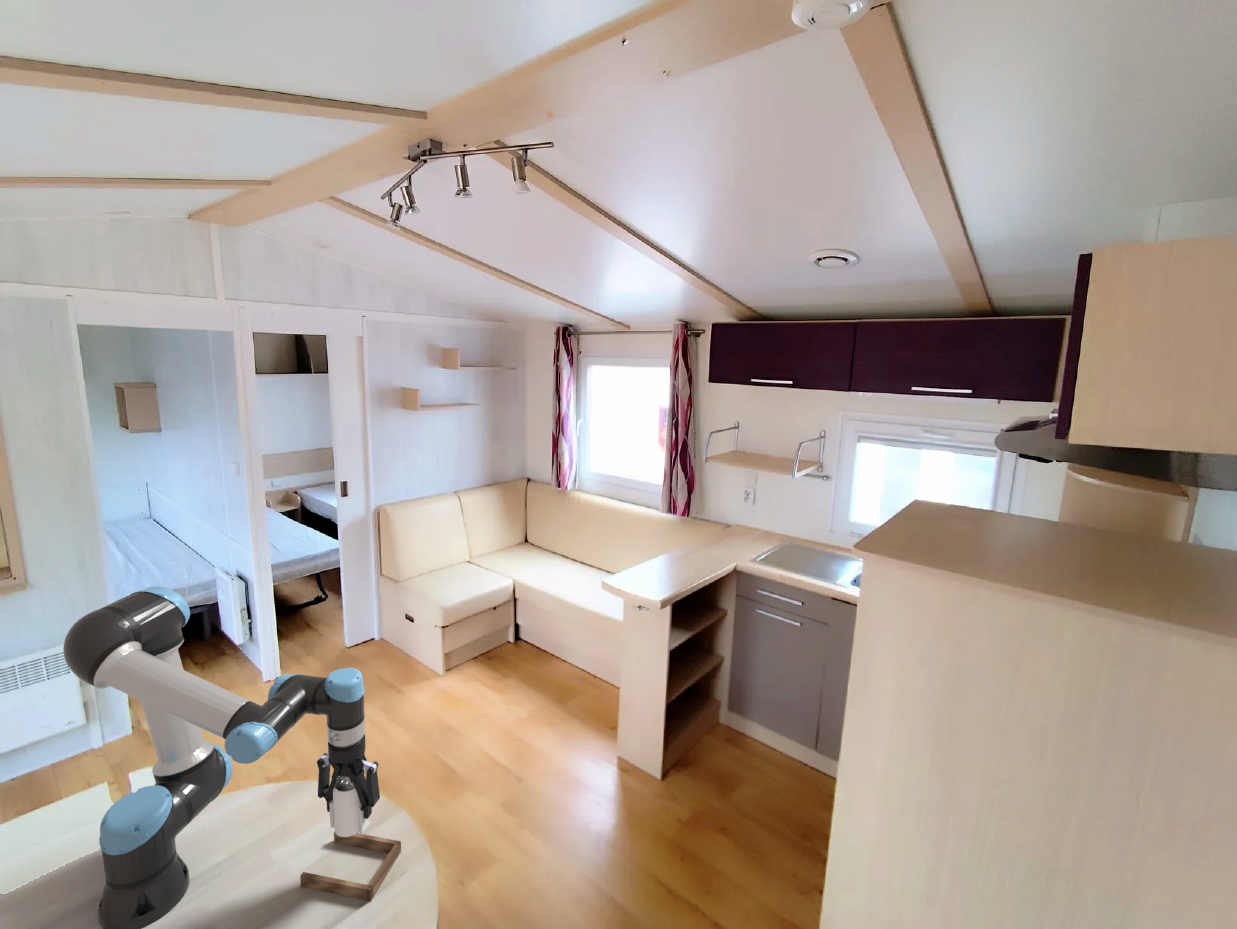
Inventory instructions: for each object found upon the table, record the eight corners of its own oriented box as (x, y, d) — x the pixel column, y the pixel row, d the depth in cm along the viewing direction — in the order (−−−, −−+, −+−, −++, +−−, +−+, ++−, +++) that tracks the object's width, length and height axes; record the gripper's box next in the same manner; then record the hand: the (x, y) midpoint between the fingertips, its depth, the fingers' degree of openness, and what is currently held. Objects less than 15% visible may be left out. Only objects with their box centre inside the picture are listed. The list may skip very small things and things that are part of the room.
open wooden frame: (300, 886, 129) (300, 875, 128) (336, 839, 141) (336, 828, 141) (370, 901, 126) (370, 890, 126) (401, 851, 139) (400, 841, 138)
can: (353, 841, 128) (351, 795, 126) (328, 835, 129) (325, 789, 127) (371, 818, 134) (370, 774, 132) (346, 813, 135) (345, 769, 133)
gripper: (295, 741, 125) (300, 831, 129) (377, 755, 122) (380, 846, 127) (317, 720, 132) (321, 805, 136) (396, 733, 129) (397, 819, 134)
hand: (349, 825), depth 132 cm, fingers closed on can, 6 cm apart
